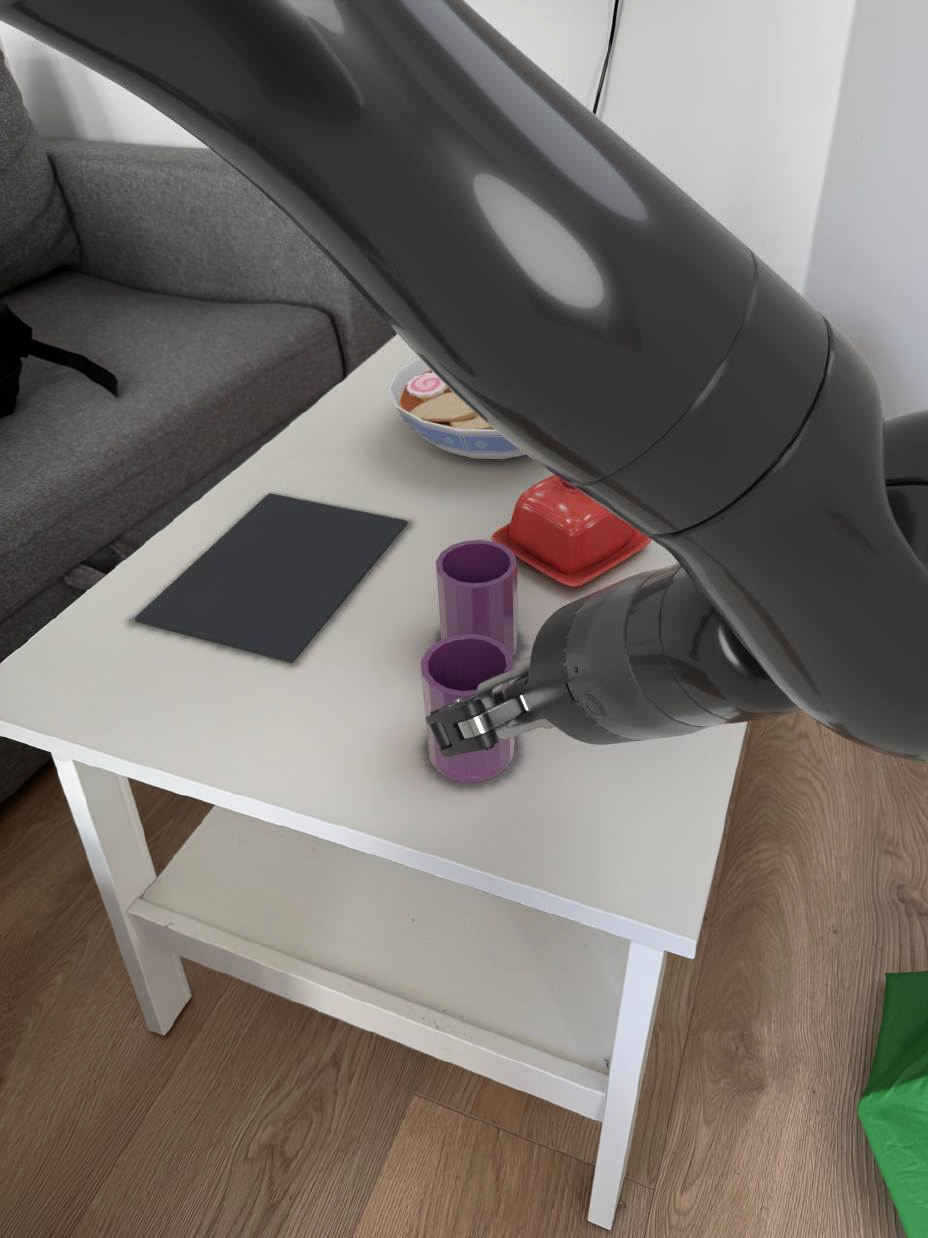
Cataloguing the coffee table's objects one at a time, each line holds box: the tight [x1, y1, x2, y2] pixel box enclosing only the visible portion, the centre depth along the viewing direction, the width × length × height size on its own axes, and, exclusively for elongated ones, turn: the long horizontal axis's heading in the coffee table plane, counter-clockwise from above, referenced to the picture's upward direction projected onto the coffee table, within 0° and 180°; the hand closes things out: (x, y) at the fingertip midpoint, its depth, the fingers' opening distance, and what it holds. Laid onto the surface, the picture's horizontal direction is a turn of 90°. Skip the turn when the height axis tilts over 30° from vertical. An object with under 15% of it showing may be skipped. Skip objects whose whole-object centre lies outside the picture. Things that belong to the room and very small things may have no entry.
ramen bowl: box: [387, 355, 527, 460], centre depth 100 cm, size 25×23×8 cm
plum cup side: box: [435, 539, 518, 658], centre depth 73 cm, size 6×6×8 cm
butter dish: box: [491, 474, 652, 588], centre depth 83 cm, size 12×12×8 cm
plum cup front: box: [420, 634, 516, 783], centre depth 64 cm, size 6×6×8 cm
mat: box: [134, 492, 408, 663], centre depth 85 cm, size 22×16×1 cm
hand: (505, 696), depth 58 cm, fingers open, 8 cm apart
